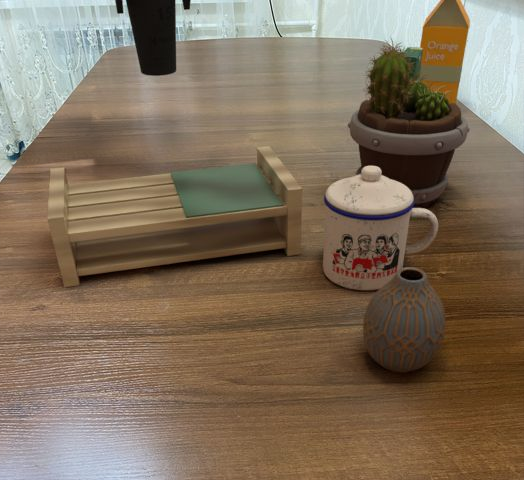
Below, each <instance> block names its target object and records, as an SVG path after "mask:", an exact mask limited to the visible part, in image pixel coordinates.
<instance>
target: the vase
mask: <svg viewBox="0 0 524 480" xmlns="http://www.w3.org/2000/svg"><path fill="white" fill-rule="evenodd" d="M362 321H363V323H362V337H363V341H364V342H363V343H364V346H365V348H366V350H367V352H368V354H369V356H370V357H371V358H372V359H373V360H374V361H375V363H377V364H378V365H380V366H381V367H382V368H384V369H386V370H388V371H391V372H395V373H410V372H413V371H416V370H418V369H422V368H423V367H425V366H426V365H428V364H429V363H430V362H431V361H432V360H433V359H434V358H435V356H436V355H437V353H438V352H439V350H440V348H441V346H442V344H443V340H444V339H445V338H444V337H445V333H446V326H447V325H446V324H447V323H446V322H447V321H446V313H445V309H444V305H443V302H442V300H441V298H440V297H439V295H438V293H437V292H436V291H435V289H434V288H433V287H432V285H431V284H430V282H429V279H428V275H427V273H426V272H425V271H424V270H423V269H421V268H418V267H412V266H406V267H403V268H401V269H399V270H398V271H397V273H396V274H395V276H394V277H393V278H392V279H391V280H390V281H389V282H388V283H386V284H385V285H384V286H383V287H382V288H380V289H377V290H376V292H375V293H374V294H373V295H372V297H371V298H370V301H369V302H368V304H367V306H366V309H365V312H364V316H363V320H362Z"/></svg>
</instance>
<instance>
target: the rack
mask: <svg viewBox="0 0 524 480" xmlns="http://www.w3.org/2000/svg"><path fill="white" fill-rule="evenodd" d="M67 178H68V177H67V173H66V168H65V167H56V168H50V169H49V184H48V185H49V187H48V202H47V216H46V217H47V218H46V219H47V223H48V228H49V231H50V235H51V241H52V244H53V247H54V248H53V249H54V252H55V256H56V259H57V264H58V267H59V270H60V276H61V279H62V282H63V287H64V288H69V287H75V286H80V277H82V276H89V275H98V274H104V273H105V274H106V273H112V272H113V273H114V272H120V271H128V270H134V269H140V268H141V269H142V268H149V267H156V266H163V265H170V264H177V263H178V264H179V263H185V262H192V261H193V262H194V261H200V260H208V259H214V258H221V257H229V256H236V255H243V254H250V253H258V252H265V251H273V250H280V249H283V251H284V253H285V254H286V256H287V257H291V256H297V255H298V256H299V255H301V253H302V215H303V214H302V213H303V208H302V207H303V188H302V186H301V185H300V184H299V183H298V181H297V180H296V178H294V176H293V175H292V173H291V172H290V171H289V170H288V168H287V167H286V166H285V165H284V163H283V162H282V161H281V159H280V158H279V156H277V154H276V153H275V152H274V150H273V149H272V148H271V147H270V146H269V145H268V146H259V147H258V146H257V147H256V162H253V163H244V164H235V165H226V166H217V167H207V168H199V169H198V168H197V169H189V170H180V171H172V172H171V171H170V173H161V174H153V175H143V176H134V177H133V176H132V177H124V178H123V177H122V178H114V179H106V180H97V181H89V182H79V183H69V182H68V179H67Z"/></svg>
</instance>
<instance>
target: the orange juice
mask: <svg viewBox="0 0 524 480" xmlns="http://www.w3.org/2000/svg"><path fill="white" fill-rule="evenodd" d="M470 27H471V19H470V17H469V14H468V13H467V10H466V9H465V7H464V4H463V2H462V0H439V1H438V3H437V4H436V5H435V7H434V8H433V9H432V11H431V12H430V13H429V14H428V16H427V17H426V18H425V20H424V22H423V25H422V30H421V31H422V33H421V37H420V43H419V48H423V53H422V61H421V70H420V77H421V78H422V77H423V76H424V75H426V76H424V77H423V78H426V79H423V80H421V82H423V83H425V84H426V85H427V86H429V87H430V88H429V89H430V91H431V88H432V91H434V90H435V89H436V88H437V89H438V88H440V87H441V86H443V87H441V88H440V89H438V90H437V92H438V93H444V92H445V93H446V92H447V91H449V92H447V93H446V96H445V97H446V98H447V99H448V98H449V96H450V98H449V100H448V101H449V103H455V104H456V105H457V99H458V94H459V88H460V82H461V77H462V73H463V72H462V71H463V65H464V59H465V54H466V47H467V42H468V41H469V40H468V35H469V29H470ZM421 78H419V79H421ZM428 81H429V82H428ZM433 82H434V83H433ZM432 83H433V84H432ZM431 84H432V85H431ZM430 85H431V86H430ZM434 87H435V88H434ZM445 90H446V91H445Z"/></svg>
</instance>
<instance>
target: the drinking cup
mask: <svg viewBox="0 0 524 480" xmlns="http://www.w3.org/2000/svg"><path fill="white" fill-rule="evenodd" d="M125 2H126V3H125V4H126V8H127V12H128V17H129V22H130V28H131V31H132V37H133V41H134V45H135V50H136V55H137V59H138V64H139V69H140V73H141V75H145V76H150V77H151V76H152V77H160V76H168V75H171V74H174V73H176V72H177V14H176V11H177V10H176V9H177V8H176V2H177V1H176V0H125Z"/></svg>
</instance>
